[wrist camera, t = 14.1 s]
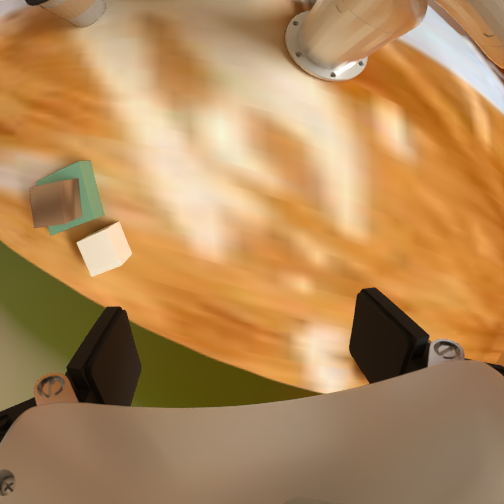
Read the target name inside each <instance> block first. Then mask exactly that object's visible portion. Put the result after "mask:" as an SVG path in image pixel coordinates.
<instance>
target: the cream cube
mask: <svg viewBox="0 0 504 504" xmlns="http://www.w3.org/2000/svg"><path fill="white" fill-rule="evenodd" d="M77 245H78V247H79V250H80V252H81V254H82V257H83V259H84V261H85V263H86V266H87V268H88V270H89V272H90V274H91V276H95V275H98V274H100V273H103V272H105V271H108V270H111V269H113V268H116V267H119V266H121V265H122V264H123V263H124V262H125V261H126V260H127V259H128V258H129V257H130V256H131V254H132V252H131V250H130V247H129V245H128V243H127V240H126V238H125V235H124V233H123V230H122V228H121V225H120V223H119V222H116V223H114V224H112V225H109V226H107V227H105V228H102V229H100V230H98V231H96V232H94V233H91V234H90V235H88V236H86V237H85V238H83V239H81V240H80V241H78V242H77Z"/></svg>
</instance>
